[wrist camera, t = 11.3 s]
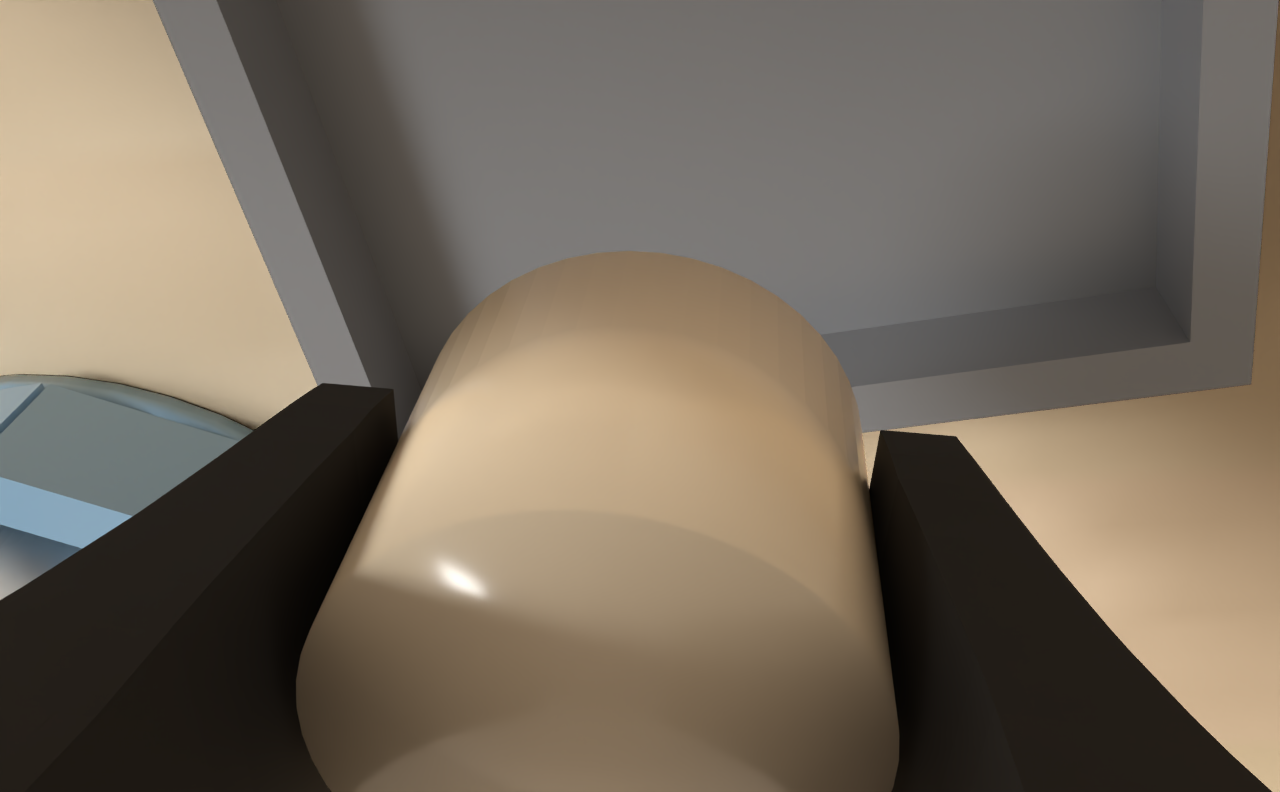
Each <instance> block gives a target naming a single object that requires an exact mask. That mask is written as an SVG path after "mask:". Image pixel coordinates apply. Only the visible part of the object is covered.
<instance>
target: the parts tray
mask: <svg viewBox="0 0 1280 792" xmlns="http://www.w3.org/2000/svg"><path fill="white" fill-rule="evenodd" d="M153 2H154V4H155V7H156V9H157V11H158V14H159V16H160V18H161V21H162V23H163V25H164V28H165V30H166V32H167V35H168V37H169V39H170V42H171V44H172V46H173V49H174V51H175V54H176V56H177V58H178V61H179V63H180V65H181V68H182V70H183V72H184V75H185V77H186V79H187V82H188V84H189V86H190V89H191V91H192V93H193V96H194V98H195V100H196V103H197V105H198V107H199V110H200V112H201V114H202V117H203V119H204V121H205V124H206V126H207V128H208V131H209V133H210V135H211V138H212V140H213V142H214V145H215V147H216V149H217V152H218V154H219V156H220V159H221V161H222V163H223V166H224V168H225V170H226V173H227V175H228V177H229V180H230V182H231V184H232V187H233V189H234V191H235V194H236V196H237V198H238V201H239V203H240V205H241V208H242V210H243V212H244V215H245V217H246V219H247V222H248V224H249V226H250V229H251V231H252V233H253V236H254V238H255V240H256V243H257V245H258V247H259V250H260V252H261V254H262V257H263V259H264V261H265V264H266V266H267V268H268V271H269V273H270V275H271V278H272V280H273V282H274V285H275V287H276V289H277V292H278V294H279V296H280V299H281V301H282V303H283V306H284V308H285V310H286V313H287V315H288V317H289V320H290V322H291V324H292V327H293V329H294V331H295V334H296V336H297V338H298V341H299V343H300V345H301V348H302V350H303V352H304V355H305V357H306V359H307V362H308V364H309V366H310V369H311V371H312V373H313V376H314V378H315V380H316V383H317V385H318V386H319V385H320V384H322V383H330V384H342V385H353V386H365V387H377V388H389V389H394V400H395V411H396V422H397V433H398V441H399V439H400V437H401V435H402V433H403V430H404V428H405V426H406V424H407V422H408V420H409V418H410V415H411V413H412V411H413V409H414V407H415V405H416V403H417V401H418V398H419V396H420V394H421V392H422V390H423V388H424V386H425V384H426V381H427V379H428V377H429V375H430V373H431V371H432V369H433V366H434V364H435V362H436V360H437V358H438V356H439V354H440V352H441V351H442V349H443V347H444V346H445V344H446V342H447V340H448V339H449V337H450V335H451V334H452V332H453V331H454V330H455V329H456V328H457V326H458V325H459V324H460V323H461V322H462V320H463V319H464V318H465V317H466V316H467V314H468V313H469V312H470V311H472V310H473V309H474V308H475V307H476V306H477V305H478V304H480V303H481V302H482V301H483V300H484V299H485V298H486V297H487V296H489V295H490V294H492V293H493V292H495V291H496V290H498V289H499V288H501V287H502V286H504V285H505V284H507V283H508V282H510V281H511V280H513V279H515V278H518V277H520V276H522V275H524V274H526V273H528V272H530V271H532V270H534V269H537V268H539V267H542V266H545V265H548V264H551V263H554V262H558V261H561V260H564V259H567V258H572V257H578V256H583V255H588V254H594V253H603V252H619V251H639V252H656V253H665V254H670V255H676V256H681V257H687V258H692V259H696V260H699V261H702V262H705V263H709V264H712V265H715V266H719V267H722V268H724V269H727V270H729V271H731V272H733V273H736V274H738V275H740V276H742V277H745V278H747V279H749V280H751V281H753V282H755V283H756V284H758V285H760V286H761V287H763V288H765V289H766V290H768V291H770V292H771V293H773V294H775V295H776V296H778V297H779V298H780V299H782V300H783V301H784V302H785V303H787V304H788V305H789V306H791V307H792V308H793V309H794V310H796V311H797V312H798V313H799V314H801V315H802V316H803V317H804V318H805V319H806V321H807V322H808V323H809V324H810V325H811V326H812V327H813V328H814V329H815V330H816V331H817V332H818V333H819V334H820V335H821V336H822V338H823V339H824V340H825V342H826V343H827V345H828V346H829V347H830V349H831V350H832V351H833V353H834V354H835V356H836V357H837V359H838V360H839V362H840V364H841V366H842V368H843V370H844V372H845V374H846V376H847V378H848V380H849V382H850V385H851V387H852V390H853V393H854V396H855V399H856V402H857V405H858V410H859V416H860V422H861V428H862V433H864V432H872V431H880V430H888V429H896V428H904V427H912V426H920V425H928V424H936V423H945V422H953V421H961V420H969V419H977V418H985V417H993V416H1001V415H1009V414H1017V413H1025V412H1033V411H1041V410H1049V409H1057V408H1065V407H1073V406H1081V405H1089V404H1097V403H1105V402H1113V401H1121V400H1129V399H1138V398H1146V397H1154V396H1162V395H1170V394H1178V393H1186V392H1194V391H1202V390H1210V389H1218V388H1226V387H1234V386H1242V385H1250V384H1251V380H1252V366H1253V352H1254V338H1255V324H1256V310H1257V296H1258V282H1259V268H1260V254H1261V240H1262V226H1263V212H1264V198H1265V184H1266V170H1267V156H1268V142H1269V128H1270V114H1271V100H1272V86H1273V72H1274V58H1275V44H1276V30H1277V16H1278V2H1279V0H153Z"/></svg>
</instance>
